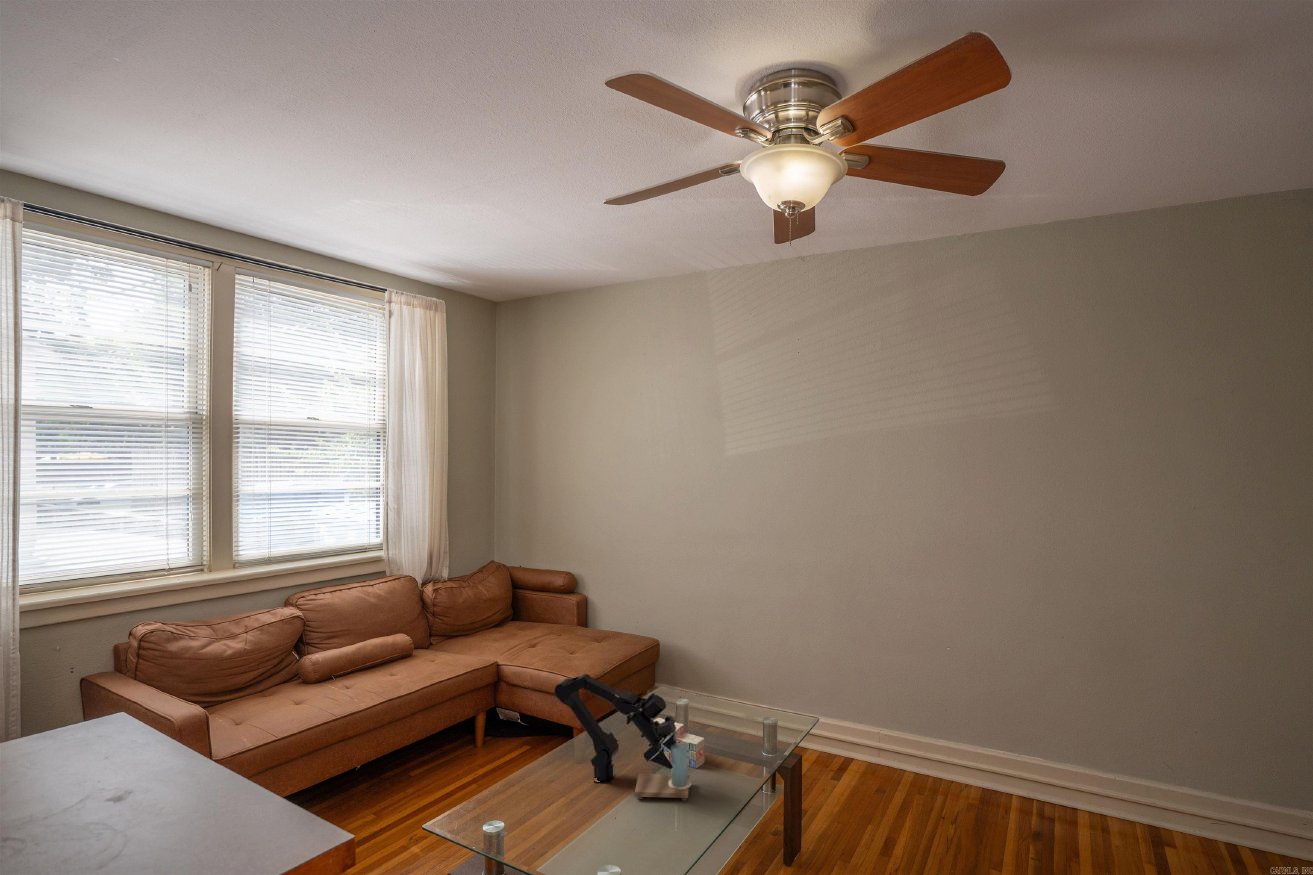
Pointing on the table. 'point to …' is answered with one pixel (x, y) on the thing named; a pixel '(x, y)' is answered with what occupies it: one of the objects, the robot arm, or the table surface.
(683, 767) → the light blue rounded piece
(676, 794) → the plate
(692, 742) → the stack of blocks
